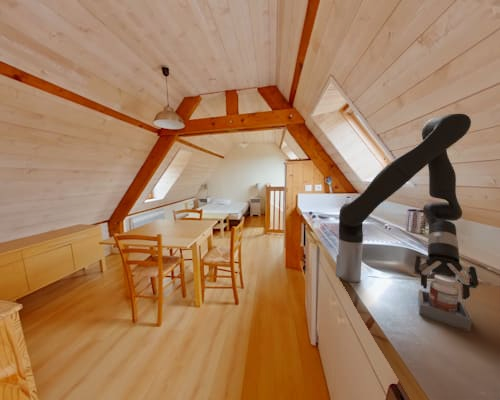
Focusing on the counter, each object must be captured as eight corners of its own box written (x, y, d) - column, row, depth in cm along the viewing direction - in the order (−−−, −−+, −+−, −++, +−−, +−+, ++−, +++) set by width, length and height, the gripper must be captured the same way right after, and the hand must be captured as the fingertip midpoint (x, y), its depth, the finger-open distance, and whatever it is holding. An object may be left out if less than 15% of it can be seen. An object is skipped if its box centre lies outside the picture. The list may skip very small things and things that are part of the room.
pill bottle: (428, 301, 64) (431, 271, 63) (454, 310, 59) (458, 277, 58) (428, 310, 59) (431, 277, 58) (457, 320, 55) (461, 285, 54)
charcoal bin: (419, 314, 59) (420, 304, 58) (418, 298, 67) (418, 289, 66) (470, 332, 52) (471, 320, 51) (462, 312, 60) (463, 301, 59)
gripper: (416, 238, 67) (414, 280, 60) (476, 246, 58) (483, 298, 51) (414, 248, 72) (412, 288, 64) (470, 257, 63) (475, 306, 55)
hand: (443, 292), depth 57 cm, fingers open, 8 cm apart
